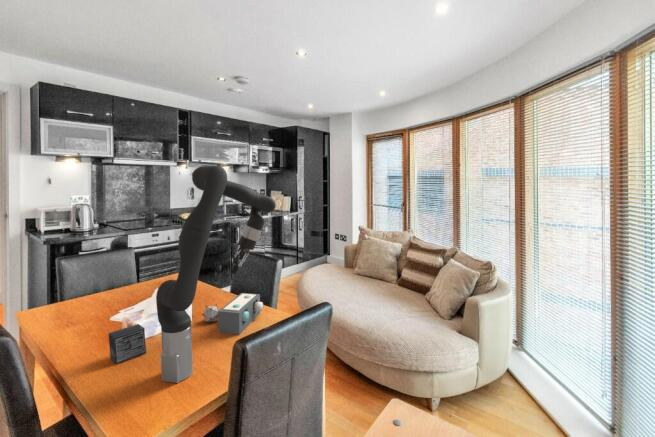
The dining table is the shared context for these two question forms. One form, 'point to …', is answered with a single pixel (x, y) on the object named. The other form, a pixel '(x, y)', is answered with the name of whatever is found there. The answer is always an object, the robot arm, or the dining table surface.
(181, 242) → the robot arm
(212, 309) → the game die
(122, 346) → the small box
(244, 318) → the teal button
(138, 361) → the dining table surface
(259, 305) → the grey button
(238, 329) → the console
